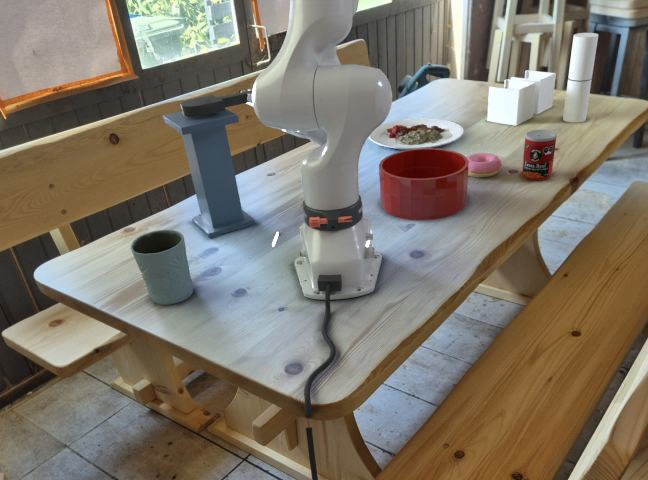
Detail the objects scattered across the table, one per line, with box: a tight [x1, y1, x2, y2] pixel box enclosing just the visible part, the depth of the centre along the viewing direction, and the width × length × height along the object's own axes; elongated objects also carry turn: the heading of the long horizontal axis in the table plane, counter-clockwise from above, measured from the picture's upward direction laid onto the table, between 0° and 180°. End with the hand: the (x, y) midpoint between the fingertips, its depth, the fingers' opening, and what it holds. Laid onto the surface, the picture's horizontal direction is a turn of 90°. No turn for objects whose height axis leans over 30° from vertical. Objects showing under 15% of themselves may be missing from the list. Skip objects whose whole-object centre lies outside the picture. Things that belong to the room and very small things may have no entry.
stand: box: [162, 108, 256, 239], centre depth 141 cm, size 13×13×26 cm
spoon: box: [180, 90, 252, 117], centre depth 135 cm, size 18×7×2 cm, turn 123°
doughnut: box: [466, 152, 503, 178], centre depth 163 cm, size 11×11×4 cm
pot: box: [378, 147, 469, 221], centre depth 148 cm, size 22×22×10 cm
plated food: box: [368, 117, 464, 151], centre depth 191 cm, size 30×30×3 cm
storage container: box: [486, 69, 557, 127], centre depth 202 cm, size 25×11×11 cm, turn 139°
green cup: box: [130, 229, 194, 306], centre depth 118 cm, size 10×10×12 cm
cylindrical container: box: [562, 32, 599, 123], centre depth 189 cm, size 7×7×25 cm
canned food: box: [521, 129, 557, 182], centre depth 157 cm, size 8×8×11 cm
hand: (244, 95), depth 136 cm, fingers closed on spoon, 2 cm apart
